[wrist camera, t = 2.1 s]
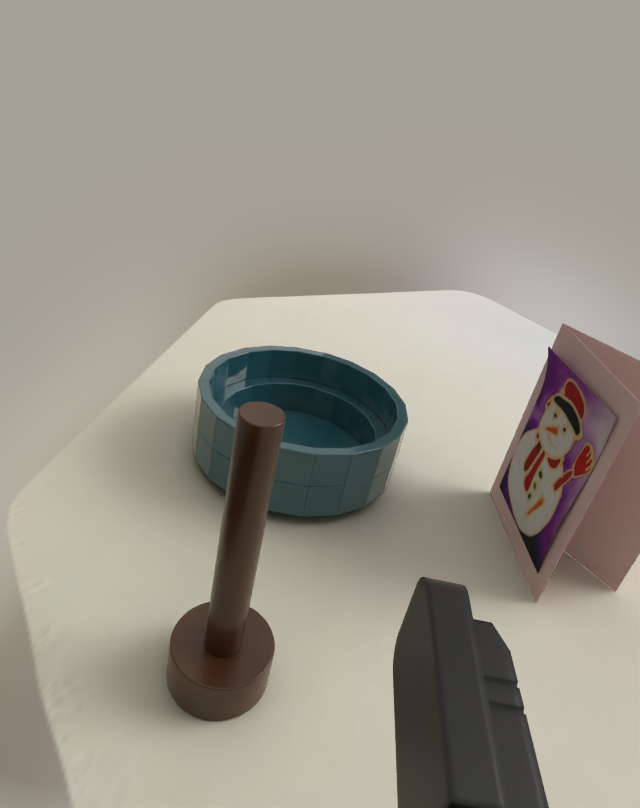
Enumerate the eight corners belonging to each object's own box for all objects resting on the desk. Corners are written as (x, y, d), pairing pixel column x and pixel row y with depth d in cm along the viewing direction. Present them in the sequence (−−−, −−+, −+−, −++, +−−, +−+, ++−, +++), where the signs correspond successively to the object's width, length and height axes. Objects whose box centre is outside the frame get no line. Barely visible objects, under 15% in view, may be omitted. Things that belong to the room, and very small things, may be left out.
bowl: (202, 530, 37) (211, 454, 35) (184, 403, 50) (190, 340, 47) (418, 521, 42) (442, 454, 40) (352, 408, 55) (367, 351, 52)
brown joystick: (169, 729, 26) (200, 452, 19) (164, 635, 30) (188, 377, 23) (276, 713, 28) (344, 453, 20) (258, 626, 32) (309, 382, 24)
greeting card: (480, 490, 47) (550, 320, 40) (565, 503, 48) (650, 339, 41) (523, 601, 38) (627, 402, 30) (629, 615, 38) (756, 425, 31)
